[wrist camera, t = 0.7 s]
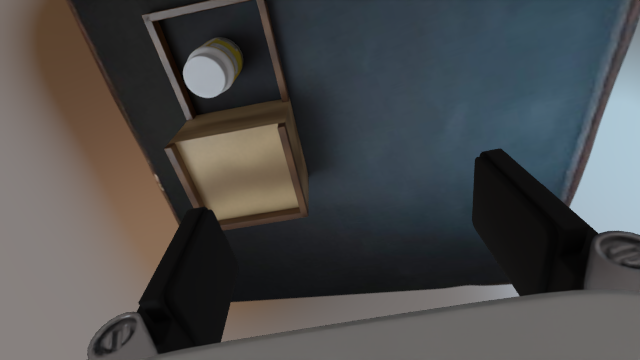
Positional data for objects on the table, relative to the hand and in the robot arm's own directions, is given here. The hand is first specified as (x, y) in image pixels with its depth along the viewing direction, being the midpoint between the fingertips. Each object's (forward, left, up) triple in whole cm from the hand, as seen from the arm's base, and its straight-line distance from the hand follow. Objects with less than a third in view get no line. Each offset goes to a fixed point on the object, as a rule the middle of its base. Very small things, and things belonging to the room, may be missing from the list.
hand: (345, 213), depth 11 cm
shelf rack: (+5, -11, -31) cm, 33 cm away
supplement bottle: (-1, -11, -31) cm, 33 cm away
